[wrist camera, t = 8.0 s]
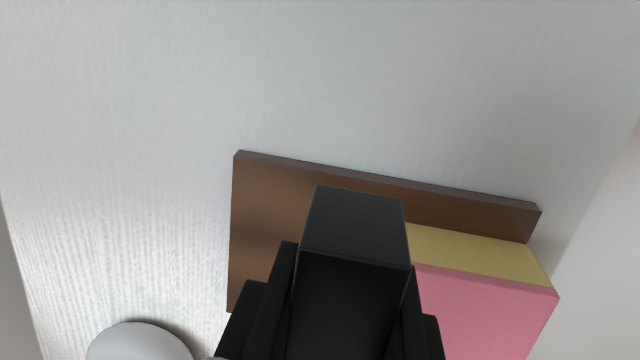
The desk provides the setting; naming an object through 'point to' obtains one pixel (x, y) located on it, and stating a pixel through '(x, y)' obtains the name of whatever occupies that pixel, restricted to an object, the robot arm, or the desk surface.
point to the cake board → (301, 178)
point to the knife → (348, 276)
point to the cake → (480, 292)
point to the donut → (137, 344)
